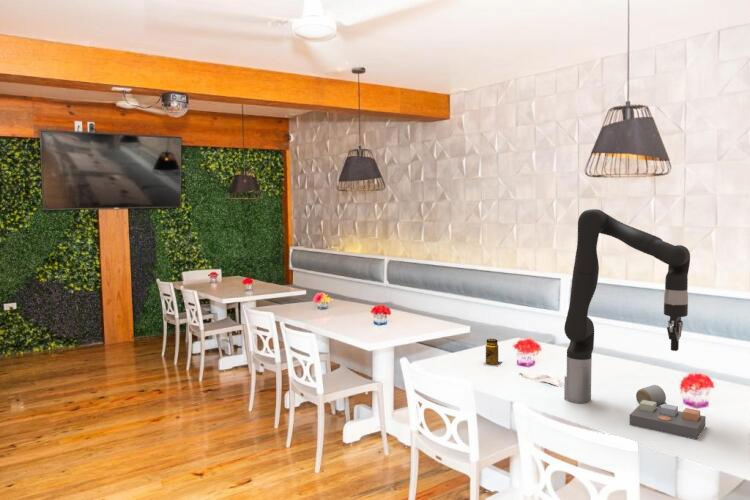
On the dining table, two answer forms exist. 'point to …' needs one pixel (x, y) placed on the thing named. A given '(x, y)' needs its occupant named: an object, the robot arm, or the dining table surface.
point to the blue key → (669, 410)
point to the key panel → (667, 423)
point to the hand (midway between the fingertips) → (674, 350)
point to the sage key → (647, 406)
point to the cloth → (544, 379)
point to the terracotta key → (691, 414)
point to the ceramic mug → (652, 395)
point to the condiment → (492, 353)
